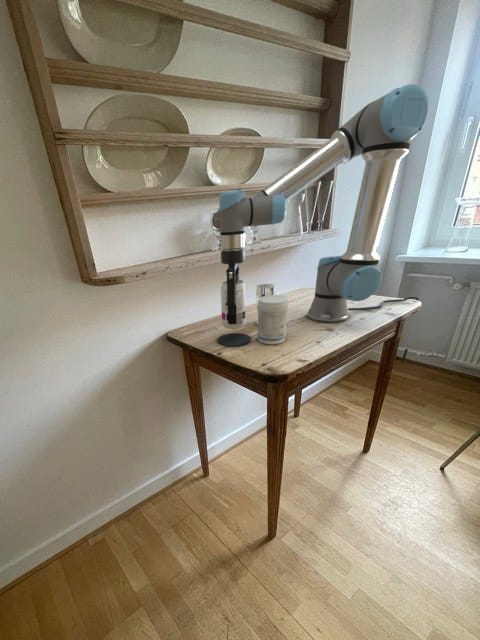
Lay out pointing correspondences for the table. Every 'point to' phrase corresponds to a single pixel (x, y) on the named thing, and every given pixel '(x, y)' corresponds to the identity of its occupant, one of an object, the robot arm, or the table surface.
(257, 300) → the beer glass
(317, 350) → the table surface
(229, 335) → the coaster
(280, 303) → the supplement tub
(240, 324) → the supplement can
